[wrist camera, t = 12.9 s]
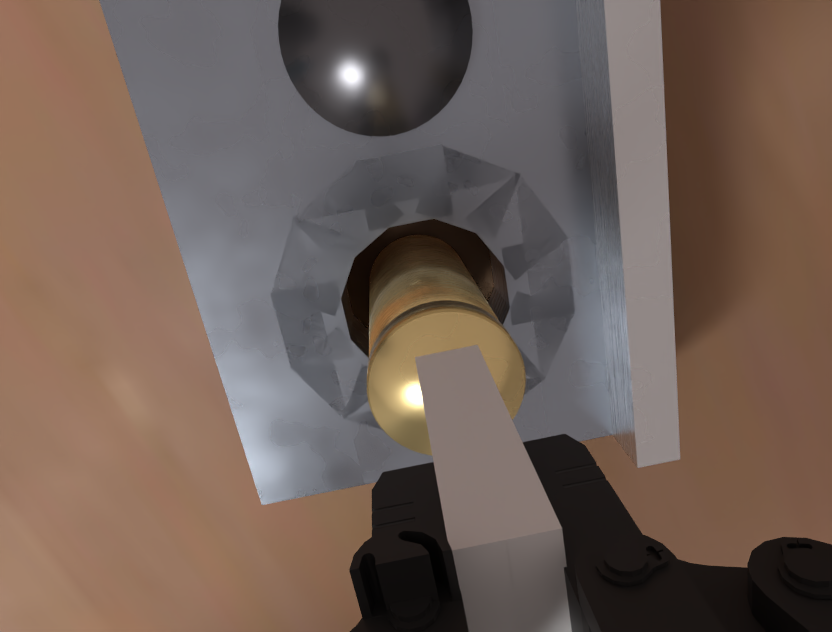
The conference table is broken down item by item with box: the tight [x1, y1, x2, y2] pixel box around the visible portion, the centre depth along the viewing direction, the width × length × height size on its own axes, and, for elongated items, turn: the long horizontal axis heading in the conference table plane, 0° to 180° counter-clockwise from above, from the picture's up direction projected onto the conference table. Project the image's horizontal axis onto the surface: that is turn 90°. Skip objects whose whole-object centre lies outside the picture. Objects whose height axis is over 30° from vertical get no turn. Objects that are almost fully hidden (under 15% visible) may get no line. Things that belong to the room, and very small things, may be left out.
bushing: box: [367, 235, 526, 456], centre depth 20 cm, size 4×4×10 cm
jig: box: [99, 0, 680, 505], centre depth 21 cm, size 16×22×5 cm
